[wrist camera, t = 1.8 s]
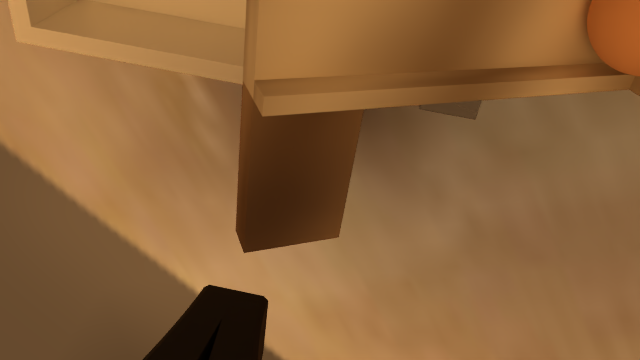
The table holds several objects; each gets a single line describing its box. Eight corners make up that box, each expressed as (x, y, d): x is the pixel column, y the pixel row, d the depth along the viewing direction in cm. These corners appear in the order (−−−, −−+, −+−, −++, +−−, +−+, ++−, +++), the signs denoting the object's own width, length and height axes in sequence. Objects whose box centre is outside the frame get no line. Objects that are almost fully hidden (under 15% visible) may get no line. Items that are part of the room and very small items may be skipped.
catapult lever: (677, -107, 15) (785, -81, 13) (543, 184, 21) (601, 236, 18) (253, -153, 10) (304, -127, 8) (235, 230, 16) (262, 305, 14)
